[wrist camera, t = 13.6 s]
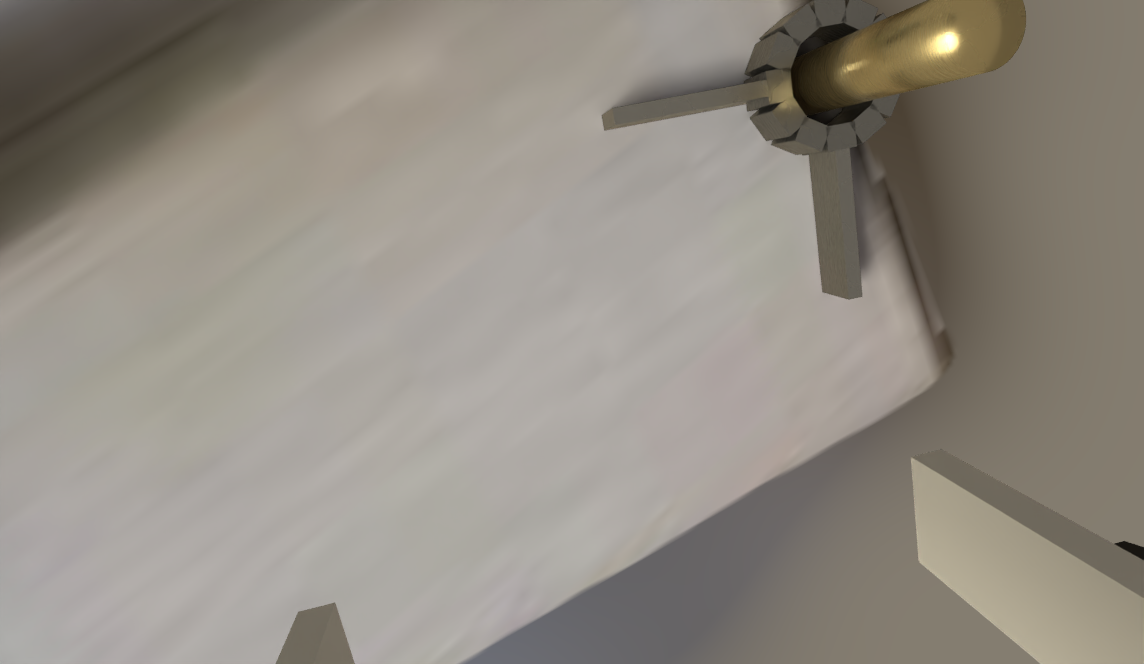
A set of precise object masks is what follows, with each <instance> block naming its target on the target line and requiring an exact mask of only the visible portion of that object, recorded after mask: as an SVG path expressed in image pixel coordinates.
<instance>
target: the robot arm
mask: <svg viewBox="0 0 1144 664" xmlns="http://www.w3.org/2000/svg"><path fill="white" fill-rule="evenodd" d="M911 465H912V478H913V490H914V505H915V517H916V531H917V544H918V557H919V562H920V563H921V564H922V565H923V566H925V567H926V568H927V569H928V570H929V571H931V572H932V573H933V574H934V575H935V576H936V577H938V578H939V579H940V580H942V581H943V582H944V583H945V584H946V585H947V586H948V587H950V588H951V589H952V590H953V591H955V592H956V593H957V594H958V595H959V596H960V597H962V598H963V599H964V600H965V601H966V602H968V603H969V604H970V605H971V606H973V607H974V608H975V609H976V610H977V611H978V612H980V613H981V614H982V615H983V616H984V617H986V618H987V619H988V620H989V621H990V622H992V623H993V624H994V625H995V626H997V627H998V628H999V629H1000V630H1001V631H1003V633H1005V634H1006V635H1007V636H1008V637H1009V638H1011V639H1012V640H1013V641H1014V642H1015V643H1017V644H1018V645H1019V646H1020V647H1021V648H1023V649H1024V650H1025V651H1026V652H1028V653H1029V654H1030V655H1031V656H1032V657H1033V658H1035V659H1036V660H1037V661H1038V662H1039V663H1041V664H1144V547H1141V546H1138V545H1135V544H1132V543H1128V542H1125V541H1123V542H1119V543H1115V544H1113V543H1111V542H1109V541H1108V540H1106V539H1104V538H1102V537H1100V536H1099V535H1097V534H1095V533H1093V532H1091V531H1089V530H1088V529H1086V528H1084V527H1082V526H1080V525H1078V524H1077V523H1075V522H1073V521H1071V520H1069V519H1068V518H1066V517H1064V516H1062V515H1060V514H1059V513H1057V512H1055V511H1053V510H1051V509H1049V508H1048V507H1045V506H1044V505H1042V504H1040V503H1038V502H1036V501H1035V500H1033V499H1031V498H1029V497H1028V496H1026V495H1024V494H1022V493H1020V492H1019V491H1017V490H1015V489H1013V488H1011V487H1009V486H1008V485H1006V484H1004V483H1002V482H1000V481H998V480H996V479H995V478H993V477H991V476H989V475H988V474H986V473H984V472H982V471H980V470H979V469H976V468H975V467H973V466H971V465H970V464H968V463H966V462H964V461H962V460H960V459H959V458H957V457H955V456H953V455H951V454H949V453H948V452H946V451H944V450H942V449H940V450H936V451H932V452H928V453H925V454H920V455H917V456H912V457H911ZM276 664H355V663H354V660H353V657H352V654H351V651H350V648H349V644H348V641H347V638H346V635H345V632H344V629H343V626H342V623H341V619H340V616H339V613H338V610H337V607H336V604H335V603H332V604H328V605H324V606H320V607H316V608H312V609H308V610H304V611H300V612H298V614H297V616H296V618H295V621H294V623H293V625H292V628H291V630H290V632H289V634H288V637H287V639H286V641H285V644H284V646H283V648H282V651H281V653H280V655H279V657H278V660H277V662H276Z"/></svg>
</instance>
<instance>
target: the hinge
mask: <svg viewBox="0 0 1144 664" xmlns="http://www.w3.org/2000/svg"><path fill="white" fill-rule="evenodd" d="M877 10H878V8H877V7H874V6H872V5H870V4H868V3H866V2H863V1H862V0H813V1H812V2H810V3H807V4H806V5H804V6H802V7H800V8H799V9H797V10H795V11H794V12H792V13H790V14H789V15H787V16H785V17H783V18H782V19H781V20H780V21H778V22H777V23H776V24H775V25H774V26H773V27H772V28H771V29H769V30H768V31H767V32H766V33H765V34H764V35H763V36H762V37H760V38H759V39H760V40H761V42H759V43H757V44H755V47H754V49H753V52H752V55H751V58H750V60H749V63H748V66H747V68H746V71H745V74H746V75H748V76H750V77H752V78H749V79H747V80H745V81H744V84H741V85H736V86H730V87H725V88H719V89H714V90H709V91H703V92H698V93H692V94H687V95H681V96H676V97H671V98H665V99H660V100H654V101H649V102H644V103H638V104H633V105H627V106H622V107H617V108H612V109H610V110H609V111H607V112H606V113H604V114H603V115H602V119H603V125H604V131H605V130H611V129H616V128H621V127H627V126H632V125H637V124H643V123H648V122H653V121H659V120H664V119H669V118H675V117H680V116H685V115H690V114H696V113H701V112H706V111H712V110H717V109H722V108H728V107H733V106H738V105H744V104H746V105H747V112H748V111H753V110H758V109H759V110H758V111H757V112H756V113H755V114H753V115H752V116H751V117H750V119H751V120H752V122H753V123H754V125H755V126H756V127H757V129H758V130H759V132H760V133H761V134H762V136H763V137H764V138H765V140H766V141H769V140H773V141H772V144H771V145H773V146H775V147H778V148H780V149H783V150H785V151H788V152H790V153H793V154H795V155H799V154H802V155H809V161H810V171H811V181H812V191H813V201H814V211H815V221H816V231H817V242H818V252H819V262H820V272H821V282H822V292H824V293H827V294H831V295H835V296H838V297H842V298H845V299H854V298H858V297H862V286H861V274H860V263H859V251H858V239H857V227H856V215H855V204H854V192H853V180H852V168H851V156H850V148H852V147H857V144H863V143H864V142H865V141H866V140H868V139H869V138H870V137H871V136H872V135H873V134H874V133H875V132H877V131H878V130H879V129H880V128H881V127H882V126H883V125H885V124H886V121H885V120H884V118H887V117H891V115H892V112H893V110H894V108H895V105H896V103H897V100H898V97H899V95H900V94H895V95H891V96H887V97H883V98H879V99H875V100H871V101H867V102H862V103H858V104H854V105H850V106H846V107H843V110H842V112H841V113H840V114H839V115H837V116H836V117H835V118H834V119H833V120H832V121H831V122H830V123H828V124H827V125H824V124H822V123H820V122H817V121H815V120H812V119H810V118H808V117H807V116H806V115H805V113H804V112H803V111H802V109H801V108H800V106H799V105H798V103H797V102H796V100H795V99H794V98H793V92H792V82H791V72H790V70H791V67H792V64H793V62H794V59H795V56H796V54H797V51H798V49H799V46H800V44H801V43H802V42H803V41H805V40H806V39H807V38H809V37H814V36H816V37H818V38H821V39H823V40H825V41H827V42H830V43H831V42H833V41H835V40H837V39H840V38H842V37H844V36H847V35H849V34H851V33H854V32H856V31H858V30H860V29H863V28H865V27H867V26H870V25H872V24H874V23H876V22H879V21H881V20H883V19H886V16H885V15H884V13H882V14H880V15H878V16H875V15H876V13H877Z"/></svg>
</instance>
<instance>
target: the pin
mask: <svg viewBox="0 0 1144 664" xmlns="http://www.w3.org/2000/svg"><path fill="white" fill-rule="evenodd" d="M1025 27H1026V11H1025V6H1024V3H1023V0H927V1H925V2H923V3H920V4H918V5H915V6H913V7H911V8H909V9H906V10H904V11H902V12H899V13H897V14H895V15H893V16H890V17H888V18H886V19H883V20H881V21H879V22H876V23H874V24H872V25H870V26H867V27H865V28H863V29H860V30H858V31H856V32H854V33H851V34H849V35H847V36H844V37H842V38H840V39H837V40H835V41H833V42H831V43H828V44H826V45H824V46H821V47H819V48H817V49H815V50H812V51H810V52H808V53H805V54H803V55H801V56H798V57H797V58H795V59H794V62H793V64H792V67H791V70H790V72H791V82H792V92H793V98H794V99H795V100H796V102H797V103H798V105H799V106H800V108H801V109H802V111H803V112H804V113H805V115H813V114H817V113H821V112H825V111H829V110H834V109H838V108H842V107H846V106H850V105H854V104H858V103H862V102H867V101H871V100H875V99H879V98H883V97H887V96H891V95H895V94H900V93H904V92H908V91H912V90H916V89H920V88H924V87H928V86H932V85H937V84H941V83H945V82H949V81H953V80H957V79H961V78H965V77H970V76H973V75H977V74H982V73H986V72H990V71H993V70H996V69H998V68H999V67H1001V66H1003V65H1004V64H1005V63H1007V62H1008V61H1009V60H1010V59H1011V58H1012V57H1013V55H1014V54H1015V53H1016V51H1017V50H1018V48H1019V46H1020V44H1021V42H1022V39H1023V36H1024V32H1025Z"/></svg>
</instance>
